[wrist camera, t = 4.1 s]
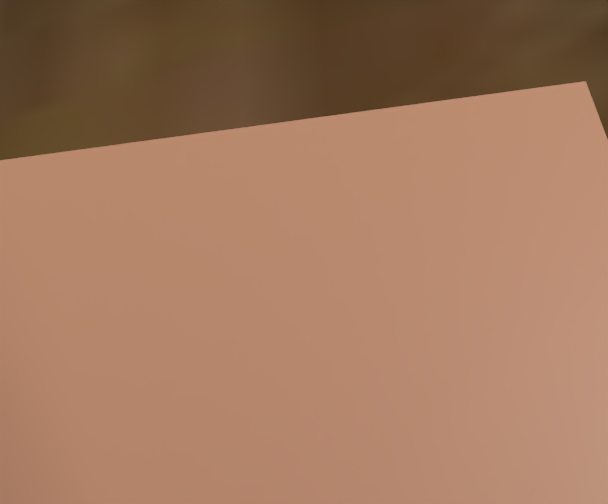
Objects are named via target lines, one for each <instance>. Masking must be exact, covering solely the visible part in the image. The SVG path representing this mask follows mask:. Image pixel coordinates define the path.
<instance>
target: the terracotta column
mask: <svg viewBox="0 0 608 504" xmlns="http://www.w3.org/2000/svg"><path fill="white" fill-rule="evenodd" d="M0 504H608V139H607V137H606V134H605V131H604V129H603V126H602V123H601V121H600V118H599V116H598V113H597V110H596V108H595V105H594V102H593V100H592V97H591V94H590V92H589V89H588V86H587V84H586V81H584V82H577V83H569V84H562V85H555V86H547V87H540V88H532V89H525V90H518V91H510V92H503V93H496V94H488V95H481V96H473V97H466V98H459V99H451V100H444V101H436V102H429V103H422V104H414V105H407V106H399V107H392V108H385V109H377V110H370V111H363V112H355V113H348V114H340V115H333V116H326V117H318V118H311V119H303V120H296V121H289V122H281V123H274V124H267V125H259V126H252V127H244V128H237V129H230V130H222V131H215V132H207V133H200V134H193V135H185V136H178V137H170V138H163V139H156V140H148V141H141V142H134V143H126V144H119V145H111V146H104V147H97V148H89V149H82V150H74V151H67V152H60V153H52V154H45V155H38V156H30V157H23V158H15V159H8V160H1V161H0Z"/></svg>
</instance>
